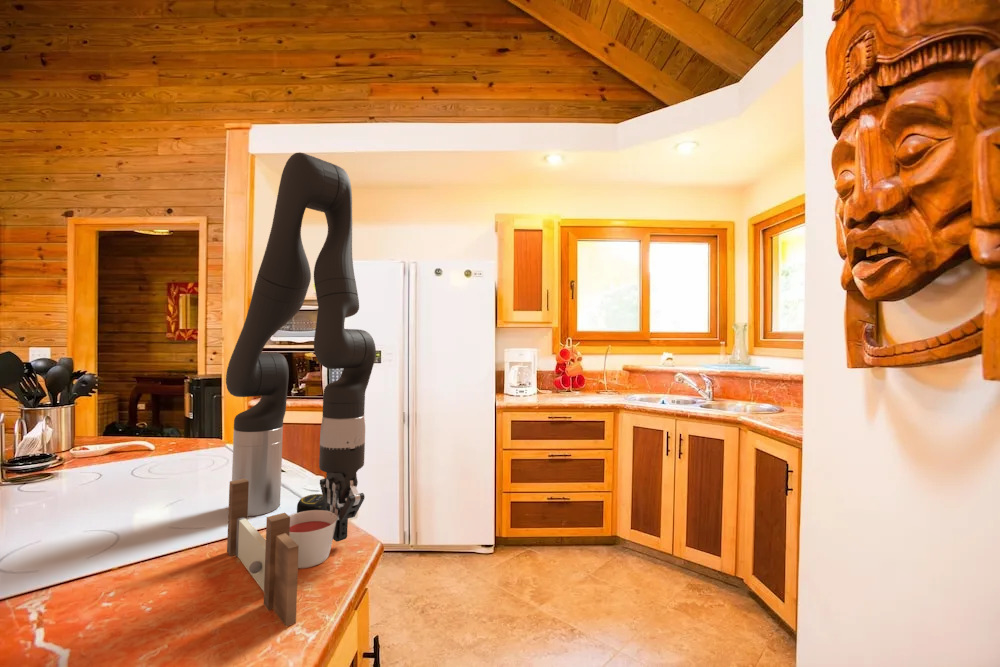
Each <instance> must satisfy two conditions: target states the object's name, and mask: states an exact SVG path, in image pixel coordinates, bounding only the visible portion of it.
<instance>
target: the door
mask: <svg viewBox="0 0 1000 667" xmlns="http://www.w3.org/2000/svg"><path fill="white" fill-rule="evenodd" d="M265 551H266V538H265V537H263V535H262V534H261V533H260V532H259V531H258V530H257V529H256V528H255V526H253V524H252V523H251V522H250V520H248V518H247V519H245V518H239V519H237V535H236V555H235V557H236V558H238V559H239V560H240V561H241V563H242V565H243V566H244V567H245V568H246V570H247V571H248V573H249V574H250V575H251V577H252V578H253V579H254V581H255V582H256V583H257V585H258V586H259V587H260V589H261V590H262V592H264V577H265Z"/></svg>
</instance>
